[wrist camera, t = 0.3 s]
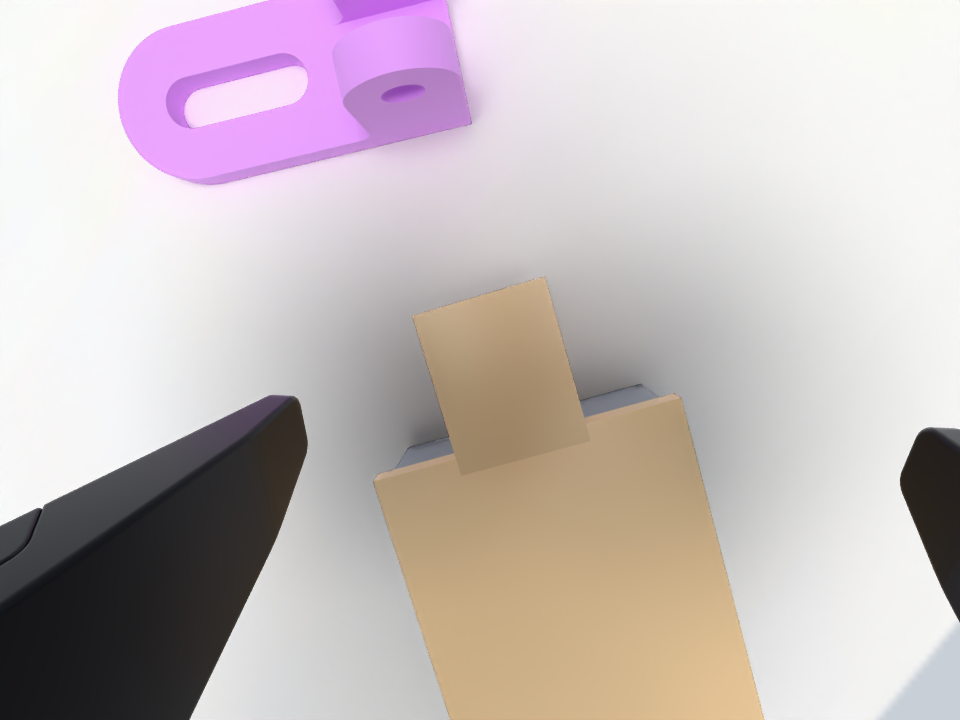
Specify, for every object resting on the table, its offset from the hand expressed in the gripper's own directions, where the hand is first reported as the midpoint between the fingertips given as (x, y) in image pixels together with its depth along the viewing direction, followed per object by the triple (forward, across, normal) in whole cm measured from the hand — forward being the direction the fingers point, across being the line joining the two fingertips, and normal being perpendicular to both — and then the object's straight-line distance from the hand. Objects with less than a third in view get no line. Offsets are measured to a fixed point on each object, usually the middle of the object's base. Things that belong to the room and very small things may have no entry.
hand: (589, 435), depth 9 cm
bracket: (+17, +11, -3) cm, 21 cm away
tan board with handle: (+8, 0, +11) cm, 13 cm away
